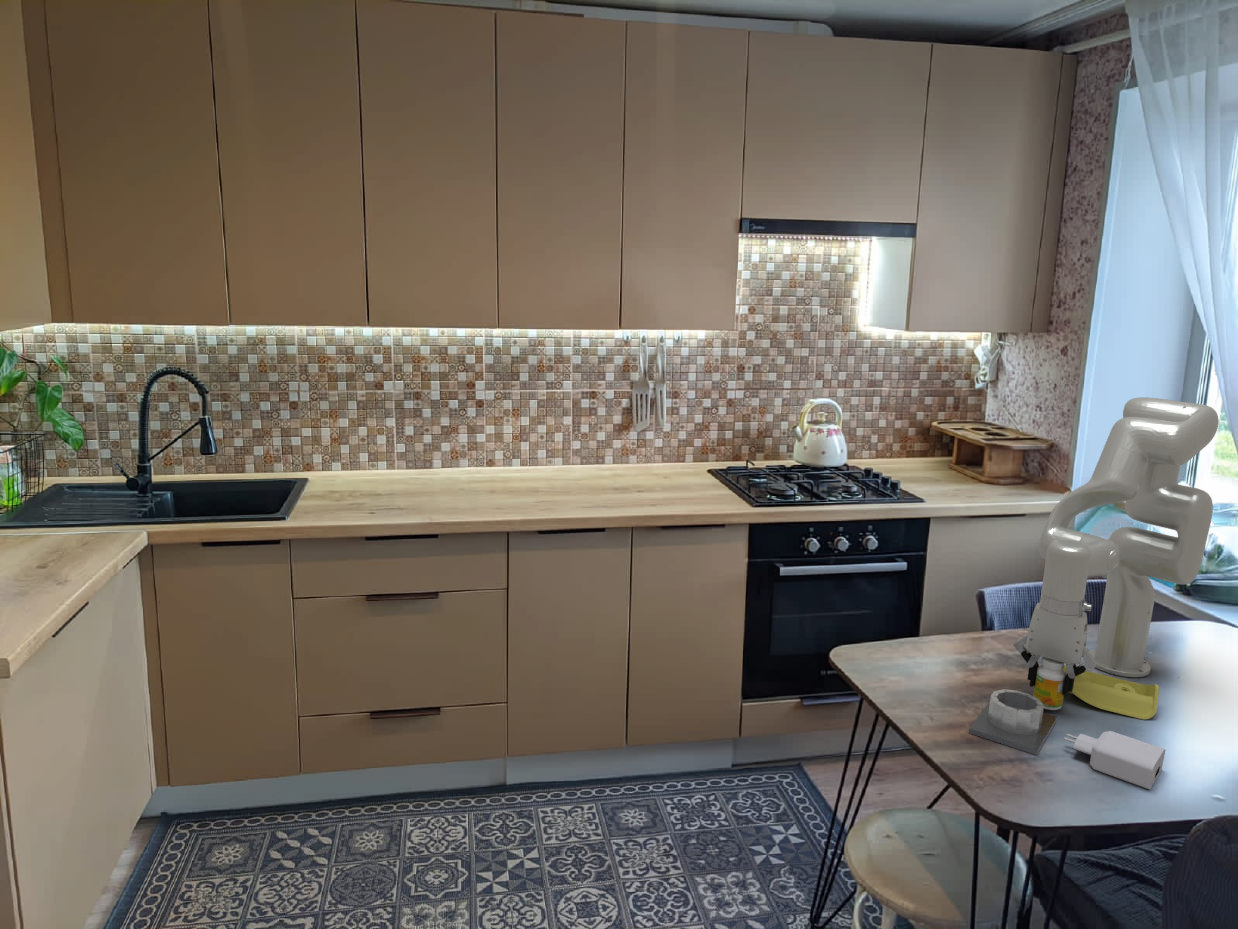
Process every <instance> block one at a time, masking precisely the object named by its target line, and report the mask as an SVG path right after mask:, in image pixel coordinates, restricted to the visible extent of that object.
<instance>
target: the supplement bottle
mask: <svg viewBox="0 0 1238 929" xmlns="http://www.w3.org/2000/svg"><path fill="white" fill-rule="evenodd" d="M1064 666H1065V663H1063V662H1060V661H1056V660H1052V659H1048V658H1044V657H1041V665H1039V667H1038V668H1037V672H1036V679H1035V685H1034V686H1033V687H1034V688H1033V694H1032V696H1034V697H1035V698H1037V699H1039V700H1040V701H1041V702H1042V704H1043V705H1044V709H1045V710H1050V711H1057V710H1060V709H1061V708H1062V707H1063V704H1064V703H1063V702H1064V697H1065V696H1063V695H1062V693H1063V687H1064V680H1065V676H1066V672H1065V671H1064V670H1063V668H1064ZM1044 709H1043V710H1044Z"/></svg>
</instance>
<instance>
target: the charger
mask: <svg viewBox="0 0 1238 929" xmlns="http://www.w3.org/2000/svg"><path fill="white" fill-rule="evenodd" d="M1066 736H1067V737H1063V740H1064V741H1067V742H1070V743H1073V750H1076V751H1079V752H1081V753H1084V754H1086V755H1089V756H1090V759H1089V760H1090V761H1089V765H1090V766H1091V768H1092V769H1093V770H1095V771H1097V772H1100V773H1103V774H1105V775H1109V776H1111V777H1114V778H1117V779H1120V780H1122V781H1125V782H1128V783H1131V784H1132V785H1136V786H1139V787H1141V788H1144V789H1147V790H1151V789H1152V787H1153V785H1154V783H1155V782H1156V781H1157V779H1158V777H1159V775H1160V774H1161V772H1162V769H1163V767H1164V766H1163V764H1164V761H1165V755H1166V749H1165V748H1163V747H1160V746H1157V745H1154V744H1151V743H1148V742H1145V741H1142V740H1138V739H1136V738H1133V737H1130V736H1127V735H1124V734H1122V733H1118V732H1115V731H1113V730H1107V731H1103V732H1102V733H1101V734H1100V736H1099V737H1098V738H1095V737H1093V736H1089V735H1087V734H1083V733H1080V734H1079V735H1078V736H1075V735H1072V734H1069V733H1067V734H1066ZM1074 739H1075V740H1074ZM1156 774H1157V775H1156Z"/></svg>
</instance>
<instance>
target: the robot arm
mask: <svg viewBox="0 0 1238 929" xmlns="http://www.w3.org/2000/svg"><path fill="white" fill-rule="evenodd" d="M1219 423H1220V421H1219V415H1218V412H1217V411H1216V409H1215V408H1213V407H1212V406H1209V405H1206V404H1202V403H1194V402H1186V401H1179V400H1171V399H1164V398H1157V397H1148V396H1147V397H1141V396H1140V397H1133V398H1130V399H1129V400H1127V402H1126V403H1125V404H1124V406H1123V410H1122V418H1120V419H1118V420H1117V421H1116V422H1115V423H1113V425H1112V427H1111V429H1110V432H1109V435H1108V437H1107V439H1106V441H1105V444H1104V446H1103V449H1102V451H1101V453H1100V456H1099V459H1098V461H1097V462H1096V466H1095V468H1094V471H1093V473H1092V475H1091V477H1090V479H1089V480H1088V481H1087V482H1086V483H1085V484H1083V485H1081V486H1079V487H1077V488H1075V489H1074V490H1072V491H1071V492H1070V493H1068V494H1066V495H1065V496H1064V497H1063V498H1062V499H1061V500H1060V501H1059V502H1057V504H1055V506H1054V508H1053V509H1052V510H1051V512H1050V513H1049V516H1048V519H1047V521H1046V523H1045V526H1044V528H1043V530H1042V533H1041V536H1040V540H1039V543H1038V550H1039V555H1040V556H1041V558H1042V559H1043V560H1045V563H1044V571H1043V579H1042V585H1041V593H1040V594H1041V595H1040V600H1039V602H1037V603H1036V605H1035V607H1034V610H1033V612H1032V615H1031V619H1030V624H1029V626H1028V627H1029V628H1028V632H1027V633H1026V634H1024V635H1023V636H1022V637H1021V638H1019V639H1018V640H1016V641H1015V642H1014V643H1013V647H1014V648H1015V650H1016V651H1017V652H1018V653H1019V654H1020V656H1021V658H1023V660H1024V661H1025V662H1026V663H1027V667H1028V673H1027V681H1029V687H1032V688H1033V687H1034V686H1035V679H1036V672H1037V668H1038V667H1039V666H1040V665H1039V662H1038V660H1039V659H1040V657H1041V658H1042V657H1044V658H1048V659H1052V660H1056V661H1060V662H1063V663H1064V665H1065V666H1066V668H1067V672H1068V673H1067V675H1066V676H1065V680H1064V687H1063V693H1062V695H1063V696H1064V697H1067V696H1068V694H1070V693H1069V691H1070V692H1072V691H1073V686H1074V679H1075V677H1076V676H1078V675H1080V674H1082V673H1084V672H1085V671H1089V670H1092V669H1094V668H1096V669H1098V670H1100V671H1102V672H1106V673H1108V674H1111V675H1114V674H1115V676H1119V677H1120V676H1121V677H1125V678H1143V677H1146V676H1148V675H1149V674H1151V667H1152V666H1151V664H1150V663H1149V662H1147V661H1146V660H1145V656H1146V650H1147V644H1148V639H1149V638H1148V637H1149V632H1150V628H1151V622H1152V616H1153V610H1154V605H1155V598H1156V594H1155V589H1154V585H1153V584H1152V582H1151V580H1150V579H1151V578H1154V579H1157V580H1161V581H1163V582H1164V581H1165V582H1169V583H1172V584H1176V585H1189V584H1191V583H1193V581H1195V579H1196V578H1197V577H1198V574H1199V571H1200V569H1201V565H1202V561H1203V558H1204V554H1205V553H1204V552H1205V549H1206V544H1207V541H1208V536H1209V532H1210V526H1211V523H1212V519H1213V512H1214V511H1213V510H1214V505H1213V500H1212V497H1211V495H1210V494H1209V493H1208V492H1206V491H1205V490H1203V489H1200V488H1196V487H1192V486H1187V485H1183V484H1179V483H1178V479H1179V474H1180V469H1181V466H1183V465H1185V464H1187V463H1188V462H1189V461H1190V460H1192V459H1193V458H1194V457H1195V456H1196V455H1197V454H1199V453H1200V451H1202V450H1203V449H1204V448H1206V447H1207V446H1208V445H1209V444H1210V443H1211V442H1212V440H1213V438H1215V435H1216V434H1217V431H1218V429H1219ZM1123 502H1124V503H1125V504H1124V507H1125V508H1124V509H1125V513H1126V515H1127V517H1128V518H1130V520H1131V519H1132V520H1133V521H1137V522H1139V523H1143V524H1148V525H1151V526H1155V527H1159V528H1164V529H1168V530H1173V531H1175V532H1176V533H1177V536H1173V535H1168V534H1164V533H1161V532H1157V531H1152V530H1148V529H1145V528H1139V527H1133V526H1125V527H1124V526H1123V527H1120V528H1117V529H1115V530H1114V531H1113V532H1112V533H1111V534H1110V536H1109V538H1105V537H1102V536H1097V535H1094V534H1090V533H1087V532H1083V531H1078V530H1074V529H1072V528H1068V527H1069V525H1070V523H1071V521H1073V519H1074V518H1076V517H1077V516H1078V515H1079V514H1081V513H1083V512H1084V511H1087V510H1089V509H1093V508H1096V507H1097V508H1098V507H1101V506H1106V505H1112V504H1118V503H1123ZM1103 576H1106V584H1105V590H1104V595H1103V596H1104V598H1103V604H1102V609H1101V615H1100V620H1099V627H1098V628H1099V629H1098V633H1097V639H1096V646H1095V648H1094V649H1091V650H1088V648H1087V640H1088V615H1087V614H1088V613H1086V612H1087V611H1088V612H1091V611H1092V608H1093V604H1091V603H1089V602H1087V601H1086V598H1085V596H1086V590H1087V583H1088V578H1092V577H1093V578H1094V577H1095V578H1096V577H1103ZM1082 659H1083V660H1084V661H1085V662H1084V663H1081V662H1082ZM1080 663H1081V664H1080Z"/></svg>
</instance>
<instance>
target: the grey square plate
mask: <svg viewBox="0 0 1238 929" xmlns="http://www.w3.org/2000/svg"><path fill="white" fill-rule="evenodd" d="M1057 720H1058V716H1055V715H1053V714H1049V713H1046V712H1044V705H1043V704H1042V702H1041V701H1040V700H1039V699H1037V698H1035V697H1034V696H1033V694H1030V693H1027V692H1023V691H1020V690H1014V689H1013V690H1012V689H1005V688H1003V689H999V690H994V691H993V692H992V693H991V695H990V697H989V702H988V703H987V705H986V706H985V707H984V708H983V710H982V711H981V712H980V714H979V715H978V716H977V718H975V720H974V721H973V723H972V724H970V725H971V726H969V728H968V734H970V733H971V734H970V735H974V736H975V737H979V736H980V738H983V739H986V740H988V739H989V741H992V742H995V743H998V744H1000V743H1001V745H1004V746H1007V747H1009V748H1014V749H1016V750H1019V751H1023V752H1024V753H1025V752H1026V753H1028V754H1030V755H1034V756H1038V754H1039V752H1040V750H1041V749H1042V747H1043V745H1044V744H1045V742H1046V740H1047V738H1048V737H1049V736H1050V734H1051V731H1052V730H1053V729H1054V727H1055V724H1056V723H1057Z"/></svg>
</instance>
